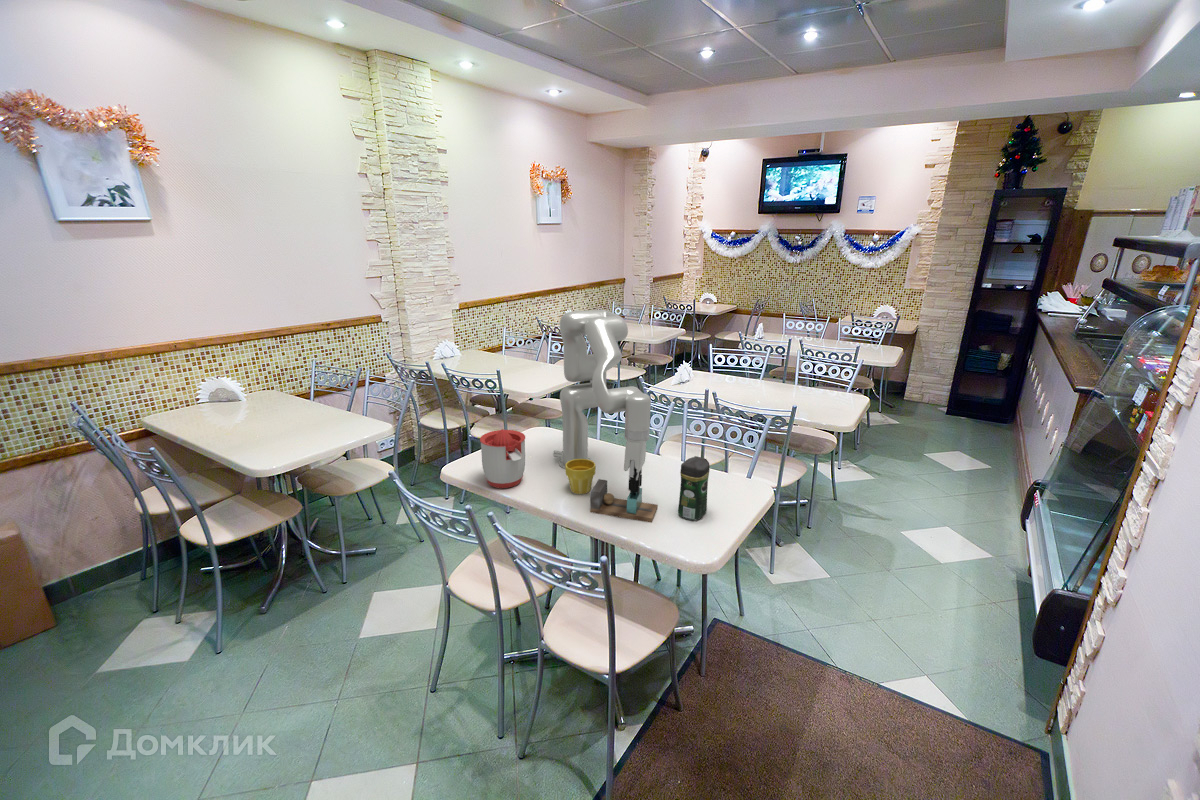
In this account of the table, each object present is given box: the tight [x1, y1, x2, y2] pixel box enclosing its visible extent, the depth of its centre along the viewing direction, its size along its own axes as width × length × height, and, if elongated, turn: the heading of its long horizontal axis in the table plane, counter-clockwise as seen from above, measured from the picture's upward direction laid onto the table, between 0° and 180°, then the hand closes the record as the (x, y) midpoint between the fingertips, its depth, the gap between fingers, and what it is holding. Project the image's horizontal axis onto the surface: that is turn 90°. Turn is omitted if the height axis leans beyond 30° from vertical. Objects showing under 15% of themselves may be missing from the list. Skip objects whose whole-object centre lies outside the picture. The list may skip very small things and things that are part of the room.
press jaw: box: [626, 469, 643, 514], centre depth 161 cm, size 4×8×16 cm, turn 163°
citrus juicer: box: [479, 428, 526, 490], centre depth 180 cm, size 16×17×20 cm
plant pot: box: [564, 459, 596, 495], centre depth 177 cm, size 10×10×10 cm
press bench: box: [589, 478, 659, 523], centre depth 164 cm, size 20×9×8 cm, turn 73°
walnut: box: [603, 492, 615, 504], centre depth 166 cm, size 4×4×4 cm
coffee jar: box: [677, 455, 711, 521], centre depth 161 cm, size 10×8×19 cm
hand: (635, 487), depth 162 cm, fingers closed on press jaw, 3 cm apart
